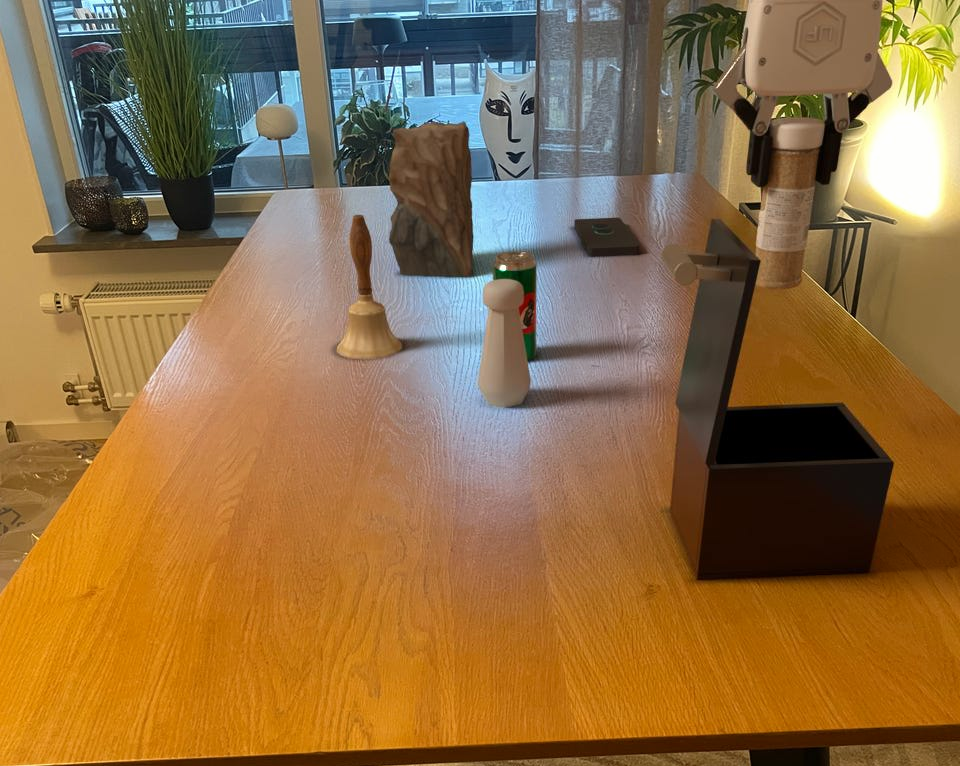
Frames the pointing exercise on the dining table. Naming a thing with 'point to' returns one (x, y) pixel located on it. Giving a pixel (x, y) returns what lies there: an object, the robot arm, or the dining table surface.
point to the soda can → (524, 272)
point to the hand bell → (366, 306)
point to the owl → (432, 200)
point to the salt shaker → (503, 346)
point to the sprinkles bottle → (787, 201)
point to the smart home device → (606, 237)
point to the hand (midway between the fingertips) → (789, 180)
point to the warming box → (781, 494)
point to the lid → (712, 329)
